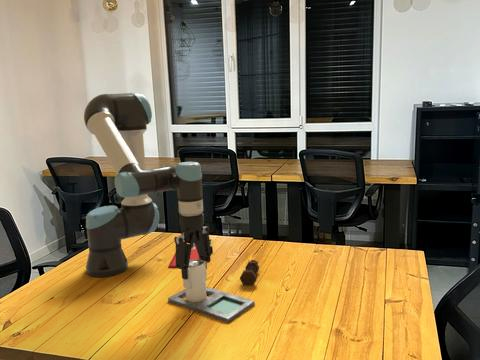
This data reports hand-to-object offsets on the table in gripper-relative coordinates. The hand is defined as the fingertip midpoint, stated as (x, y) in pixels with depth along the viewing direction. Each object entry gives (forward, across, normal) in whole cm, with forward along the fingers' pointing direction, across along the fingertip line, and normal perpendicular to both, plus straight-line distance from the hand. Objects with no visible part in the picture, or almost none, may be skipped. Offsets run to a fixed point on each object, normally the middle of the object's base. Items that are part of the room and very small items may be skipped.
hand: (195, 283), depth 140 cm
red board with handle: (+6, +30, +28) cm, 42 cm away
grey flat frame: (+5, 0, -6) cm, 8 cm away
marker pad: (+5, 0, -12) cm, 13 cm away
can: (+5, 0, 0) cm, 5 cm away
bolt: (+5, +23, -5) cm, 24 cm away
